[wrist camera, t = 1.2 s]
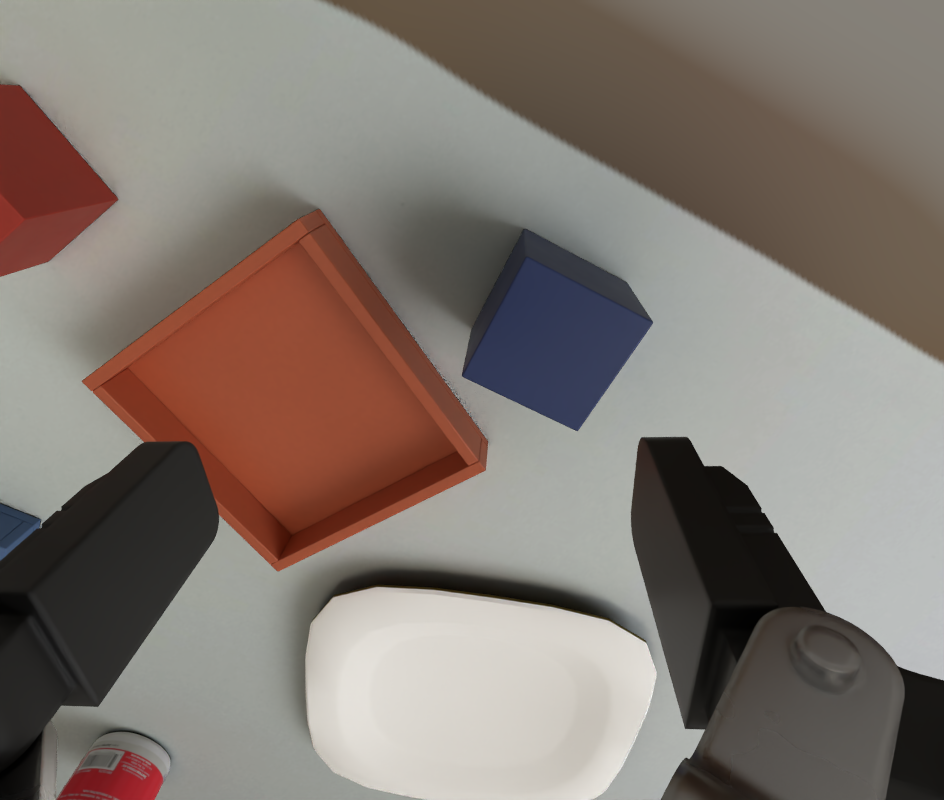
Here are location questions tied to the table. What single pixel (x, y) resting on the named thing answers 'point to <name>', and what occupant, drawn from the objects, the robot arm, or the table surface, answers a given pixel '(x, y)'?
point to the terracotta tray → (297, 397)
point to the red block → (41, 186)
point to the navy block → (554, 331)
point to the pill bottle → (119, 770)
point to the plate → (473, 694)
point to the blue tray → (14, 528)
